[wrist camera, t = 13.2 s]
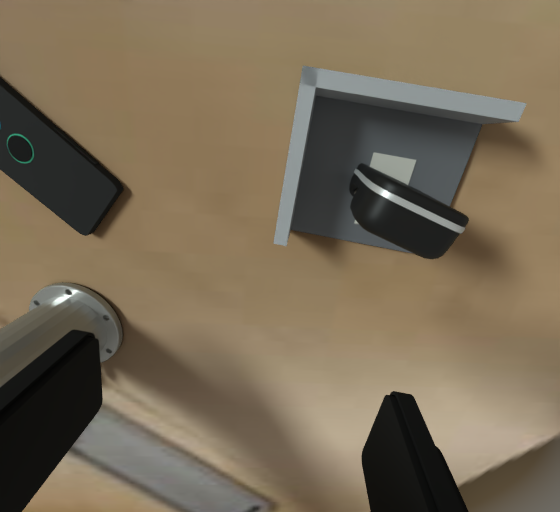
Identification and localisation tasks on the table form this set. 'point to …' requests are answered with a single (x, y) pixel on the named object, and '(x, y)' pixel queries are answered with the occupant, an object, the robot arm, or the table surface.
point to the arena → (375, 146)
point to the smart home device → (53, 165)
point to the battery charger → (403, 213)
